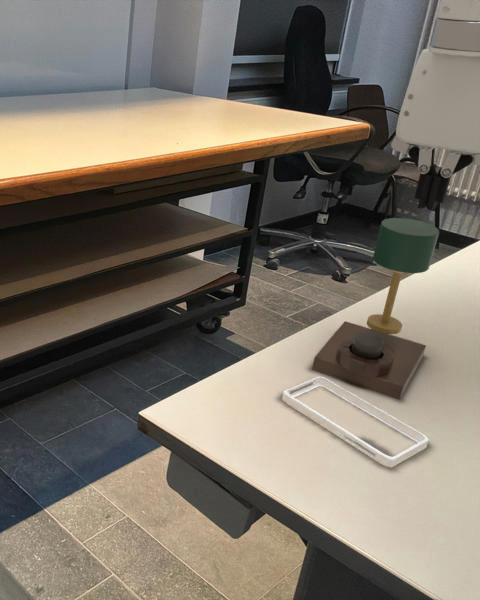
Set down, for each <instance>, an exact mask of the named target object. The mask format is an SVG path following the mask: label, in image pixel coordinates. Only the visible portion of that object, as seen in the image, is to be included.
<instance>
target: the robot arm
mask: <svg viewBox="0 0 480 600" xmlns="http://www.w3.org/2000/svg"><path fill="white" fill-rule="evenodd" d="M437 10H438V11H437V14H436V18H435V23H434V26H433V27H434V28H433V30H432V35H431V39H430V43H429V48H424V49H422V50H421V53H420V54H419V56H418V59H417V60H416V63H415V66H414V69H413V70H412V71H413V72H412V74H411V76H410V79H409V82H408V85H407V88H406V91H405V95H404V97H403V101H402V103H401V104H402V105H401V107H400V110H399V115H398V119H397V123H396V127H395V135H394V137H393V139H392V141H391V143H390V148H391V149H392V150H394V151H396V152H399V153H401V154H404V155H406V156H408V157H409V158H410V159H411V160H412V162H413V164H414V165H415V166H416V167H417V171H418V173H419V177H418V182H417V184H416V185H417V186H416V190H415V194H414V199H416V200H418V204H417V209H421V210H423V209H426V210H427V211H431V212H433V211H434V210H435V209H436V207H438V204H444V202H445V200H446V196H447V193H448V190H449V185H450V183H451V178H452V176H453V175H455V174H457V173H458V172H460V171H461V170H463V169H465V168H467V167H469V166H480V0H440V1H439V5H438V8H437ZM437 149H442V150H448V154H447V156H446V158H445V161H444V162H443V165H442V167H440V168H439V169H438V172H437V165H435V163H436V152H437Z"/></svg>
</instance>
